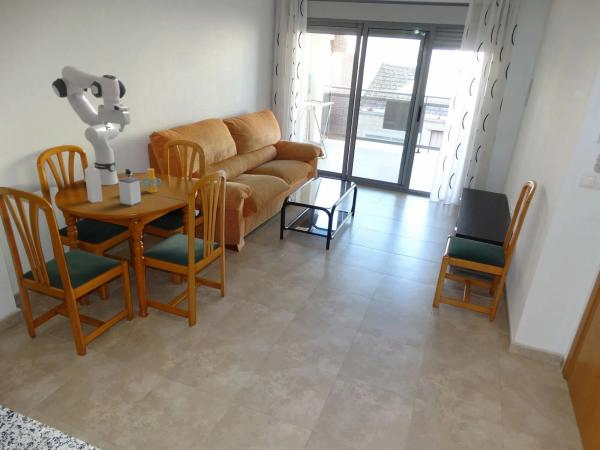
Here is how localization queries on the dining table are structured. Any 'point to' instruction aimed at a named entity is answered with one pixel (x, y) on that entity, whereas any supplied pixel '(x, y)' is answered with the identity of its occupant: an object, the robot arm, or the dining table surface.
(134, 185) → the white box with knob
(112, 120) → the robot arm
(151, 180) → the yellow and blue toy
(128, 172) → the plunger
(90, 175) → the milk
